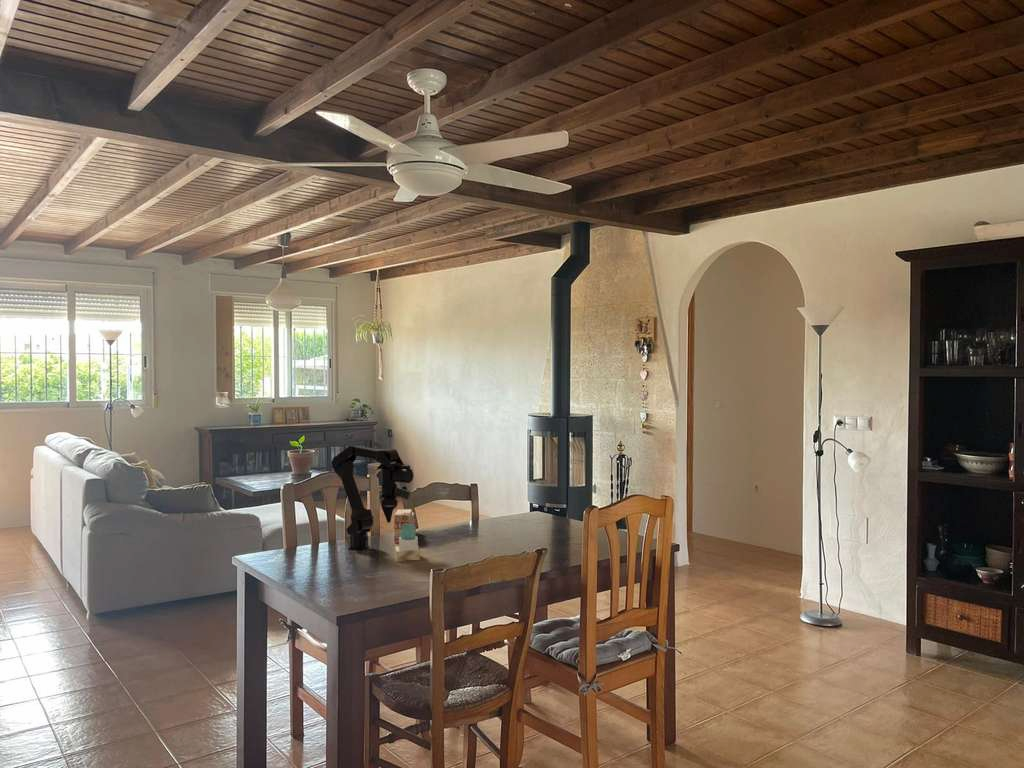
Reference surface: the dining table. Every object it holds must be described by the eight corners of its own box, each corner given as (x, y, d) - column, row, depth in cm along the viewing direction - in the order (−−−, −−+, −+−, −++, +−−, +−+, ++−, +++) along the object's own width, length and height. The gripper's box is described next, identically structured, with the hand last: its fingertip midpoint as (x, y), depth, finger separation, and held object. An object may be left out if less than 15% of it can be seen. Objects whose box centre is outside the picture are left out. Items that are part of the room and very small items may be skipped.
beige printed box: (400, 533, 350) (400, 505, 349) (414, 533, 350) (414, 505, 350) (394, 543, 328) (394, 514, 328) (409, 543, 328) (409, 514, 328)
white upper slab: (399, 550, 298) (399, 540, 298) (398, 546, 305) (398, 536, 305) (417, 550, 299) (417, 540, 299) (417, 546, 306) (417, 536, 306)
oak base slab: (396, 562, 297) (396, 551, 297) (394, 556, 306) (395, 546, 305) (420, 561, 298) (420, 550, 298) (418, 555, 307) (418, 545, 307)
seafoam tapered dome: (398, 539, 300) (398, 526, 300) (404, 536, 305) (404, 523, 305) (412, 540, 298) (412, 527, 298) (417, 537, 304) (417, 524, 304)
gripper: (410, 484, 302) (410, 524, 302) (407, 477, 320) (407, 515, 321) (381, 484, 300) (381, 525, 300) (380, 478, 318) (380, 516, 318)
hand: (388, 520), depth 310 cm, fingers open, 9 cm apart
